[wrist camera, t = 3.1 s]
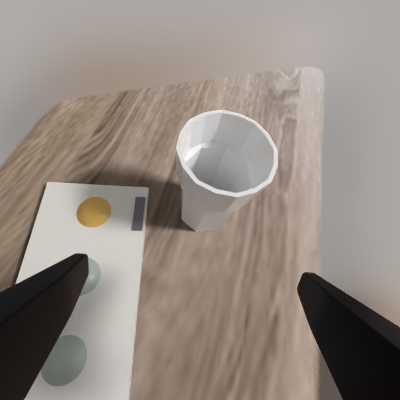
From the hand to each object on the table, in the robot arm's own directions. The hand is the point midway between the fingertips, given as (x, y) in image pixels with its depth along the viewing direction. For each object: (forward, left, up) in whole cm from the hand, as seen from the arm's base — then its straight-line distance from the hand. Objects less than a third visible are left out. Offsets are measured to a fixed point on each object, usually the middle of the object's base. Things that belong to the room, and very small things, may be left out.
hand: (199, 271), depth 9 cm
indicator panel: (+1, +9, -12) cm, 15 cm away
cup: (+8, -2, -13) cm, 15 cm away
